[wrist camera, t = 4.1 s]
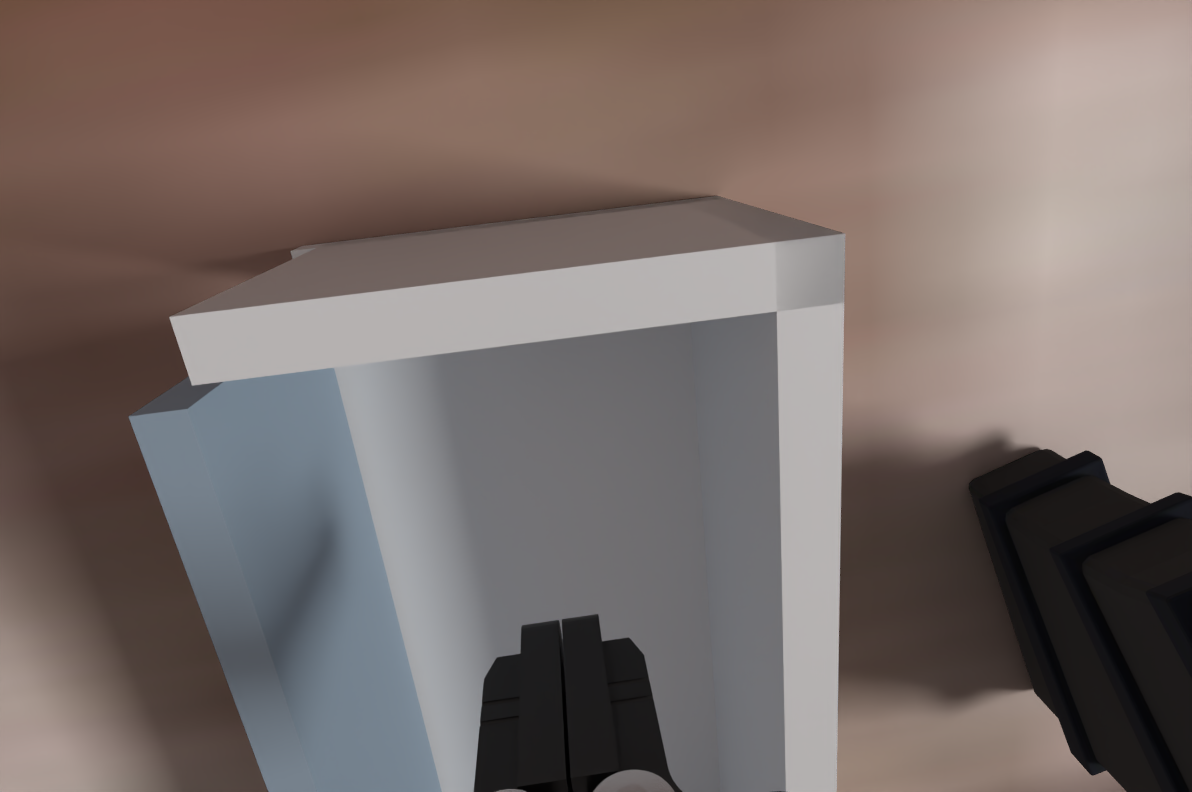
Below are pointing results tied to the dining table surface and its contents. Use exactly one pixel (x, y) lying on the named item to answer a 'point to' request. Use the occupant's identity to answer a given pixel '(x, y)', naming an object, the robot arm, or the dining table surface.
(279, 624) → the door
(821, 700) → the case
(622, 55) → the dining table surface
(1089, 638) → the black ridged battery pack
